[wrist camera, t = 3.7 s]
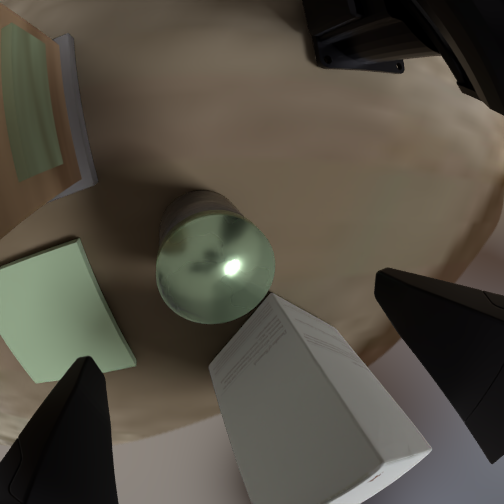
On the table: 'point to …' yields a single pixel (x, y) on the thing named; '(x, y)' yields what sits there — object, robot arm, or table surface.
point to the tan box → (38, 121)
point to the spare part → (211, 259)
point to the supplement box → (308, 412)
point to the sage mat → (58, 314)
